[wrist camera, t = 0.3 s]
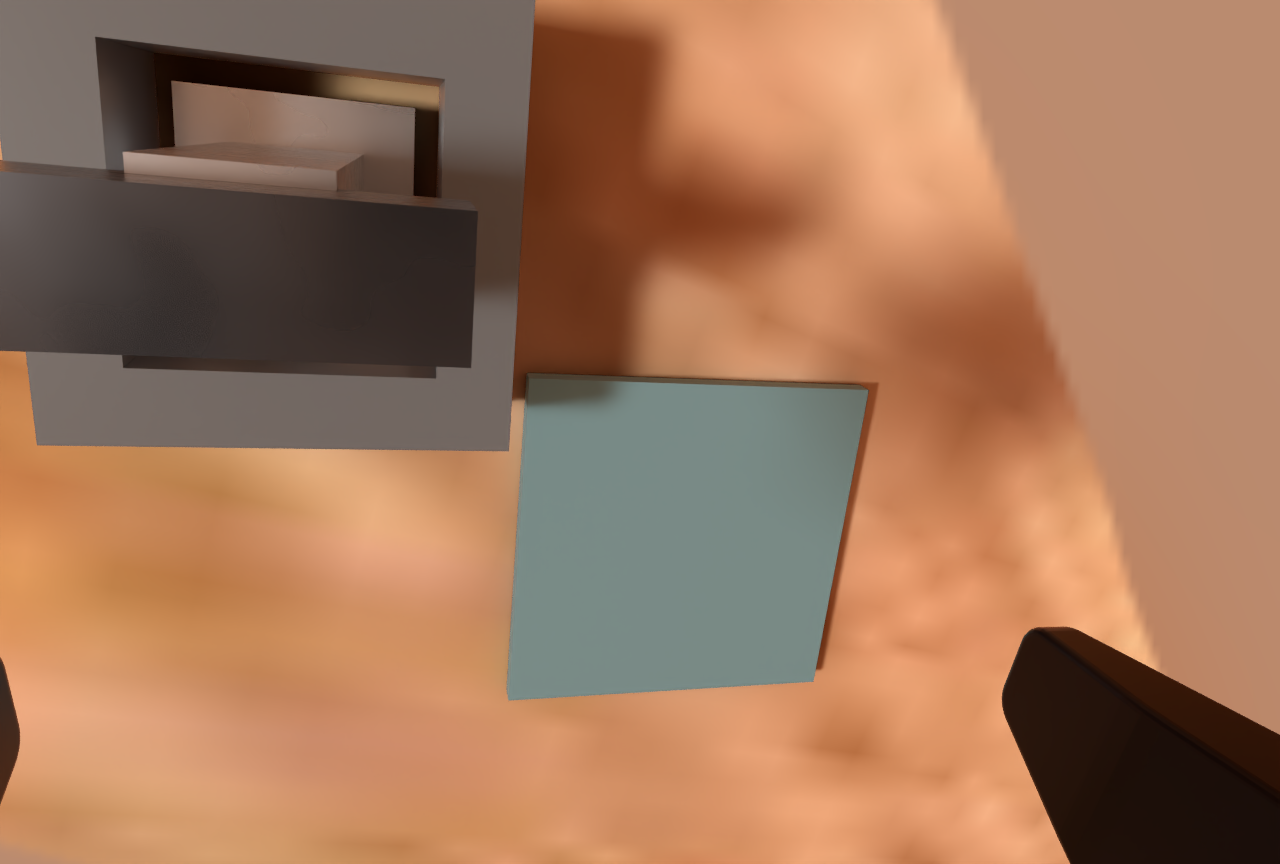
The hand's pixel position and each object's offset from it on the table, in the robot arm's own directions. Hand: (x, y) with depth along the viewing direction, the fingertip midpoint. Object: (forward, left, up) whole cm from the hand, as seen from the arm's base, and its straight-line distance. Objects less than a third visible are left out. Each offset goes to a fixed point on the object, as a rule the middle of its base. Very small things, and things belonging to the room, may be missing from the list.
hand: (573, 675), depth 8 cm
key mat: (-5, -6, -14) cm, 16 cm away
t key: (+3, +4, -14) cm, 15 cm away
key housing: (+3, +4, -14) cm, 15 cm away
